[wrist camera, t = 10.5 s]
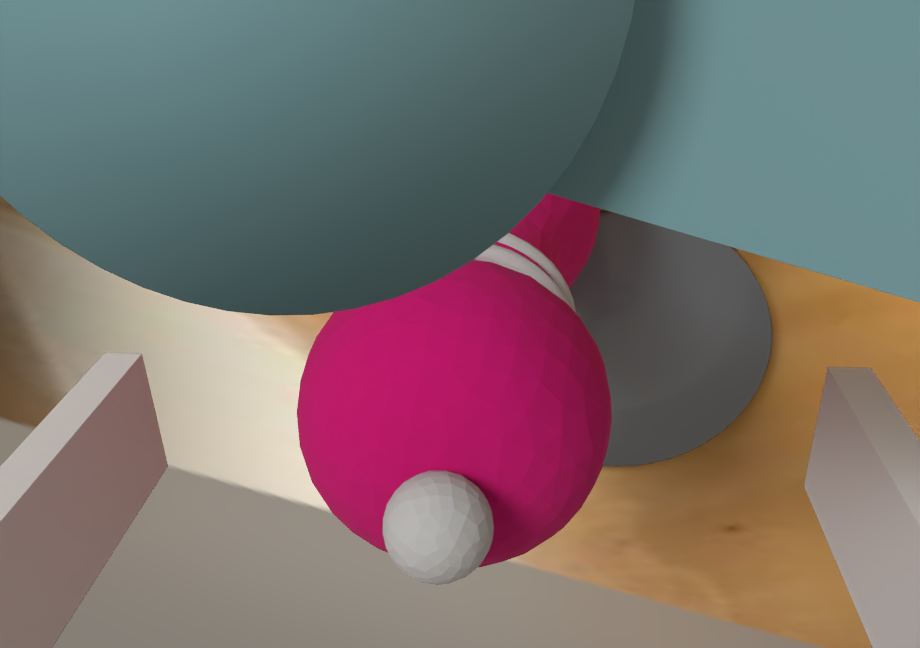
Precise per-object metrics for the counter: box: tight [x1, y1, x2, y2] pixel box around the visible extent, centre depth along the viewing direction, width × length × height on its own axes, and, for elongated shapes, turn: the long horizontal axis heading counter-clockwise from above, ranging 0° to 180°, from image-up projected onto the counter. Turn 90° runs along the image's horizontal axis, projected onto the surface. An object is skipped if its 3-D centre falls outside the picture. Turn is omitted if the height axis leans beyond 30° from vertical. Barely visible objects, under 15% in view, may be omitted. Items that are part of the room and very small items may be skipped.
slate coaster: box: [569, 210, 772, 466], centre depth 33 cm, size 11×11×1 cm
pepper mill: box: [297, 193, 612, 585], centre depth 22 cm, size 7×7×20 cm
